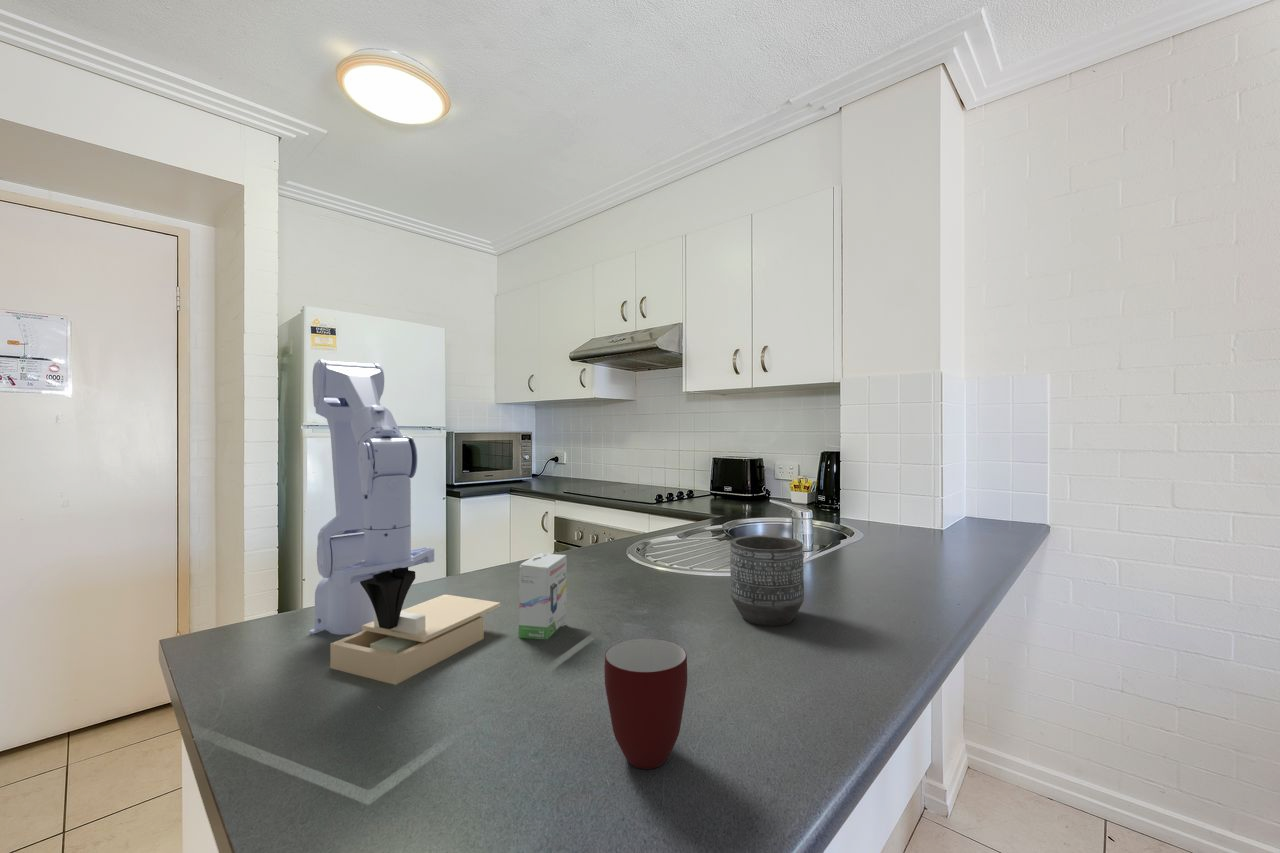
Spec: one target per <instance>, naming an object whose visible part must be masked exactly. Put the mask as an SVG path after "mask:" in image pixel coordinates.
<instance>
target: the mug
mask: <svg viewBox="0 0 1280 853" xmlns="http://www.w3.org/2000/svg"><path fill="white" fill-rule="evenodd" d="M687 661H688V656H687V651H686V650H685V648H683V647H682V646H680V645H679V644H677V643H674V642H672V641H668V640H664V639H659V638H635V639H633V638H632V639H627V640H624V641H620V642H618V643H615V644H613V645H612V646H610V647H609V648H608V649H607V650H606V651H605V654H604V686H605V687H604V688H605V692H606V697H607V698H606V699H607V704H608V710H609V714H610V721H611V726H612V731H613V735H614V738H615V740H616V743H617V744H618V747H619V748H620V749H621V751H622V753H623V756H624V757H625V759H626V761H627V763H629V765H631V766H632V767H635V768H637V769H644V770H650V769H655V768H658V767H659V768H660V767H661V766H662V765H664V764H665V763H666V761H667V760H668V758H669V756H670V754H671V753H672V750H673V748H674V747H675V745H676V742H677V740H678V737H679V734H680V731H681V725H682V720H683V712H684V706H685V700H686V696H687V695H686V694H687V687H688V662H687Z"/></svg>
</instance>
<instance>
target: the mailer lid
mask: <svg viewBox="0 0 1280 853" xmlns="http://www.w3.org/2000/svg"><path fill="white" fill-rule="evenodd" d="M500 607H501V602H500V601H499V602H497V601H491V600H485V599H479V598H478V599H477V598H472V597H464V596H460V595H459V596H457V595H451V594H445V593H444V594H442V595H439V596H436V597H433V598H432V599H428V600H426V601H423V602H420V603H417V604H415V605H413V606H410V607H407V608H404V609H401V613H400V617H399V621H398V625H397V627H394V628H392V629H385V628H380V627H379V624H378V620H377V616H376V613H375V612H374V621H372V622H370V623H367V624H365V625H362V630H366V631H370V632H375V633H380V634H385V635H390V636H395V637H400V638H404V639H409V640H414V641H419V642H425V641H427V640H430V639H432V638H434V637H436V636H438V635H440V634H442V633H445V632H447V631H449V630H451V629H453V628H455V627H457V626H460V625H462V624H464V623H466V622H468V621H470V620H473V619H475V618H477V617H479V616H480V617H482V616H483V615H485V614H487V613H490V612H492V611H494V610H496V609H498V608H500Z"/></svg>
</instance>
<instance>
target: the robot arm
mask: <svg viewBox="0 0 1280 853" xmlns="http://www.w3.org/2000/svg"><path fill="white" fill-rule="evenodd" d="M384 390H385V372H384V369H383V368H382V366H381V365H380V364H379V363H377V362H375V363H365V362H363V363H362V362H347V361H335V360H324V359H320V358H319V359H318V360H317V361H315V363H314V365H313V370H312V394H313V395H312V396H313V398H312V399H313V407H314V408H315V413H316V414H317V415H319V416H321V417H322V418H325V419H326V420H327V425H328V429H329V433H330V445H331V458H332V461H331V462H332V472H333V473H332V474H333V489H334V502H335V516H334V517H333V518H331V519H330V520H329V521H328V522H326V523H325V524H324V525H323V526H322V527H320V530H319V532H318V534H317V547H316V563H317V565H316V566H317V571H318V574H319V576H321V577H322V579H320V581H319V582H318V584H317V585H316V588H315V591H314V628H312V629H310V630H309V634H311V635H314V634H316V633H320V632H323V631H327V632H329V633H330V634H332V635H333V634H334V635H341V636H342V635H344V636H345V635H354V634H356V633H359V632H361V631H364V630H362V625H365V624H367V623H370V622H372V621H374V612H375V613H376V616H377V620H378V624H379V627H380V628H385V629H392V628H394V627H397V625H398V621H399V617H400V613H401V611H402V610H403V606H404V603H405V600H406V596H407V595H408V592H409V590H410V588H411V586H412V585H413V583H414V581H415V580H416V571H414V570H410V569H409V568H412V567H415V566H419V565H422V564H425V563H426V564H431V563H433V562H435V548H433V547H432V548H431V547H420V548H416V549H412V540H411V539H412V531H411V529H412V522H411V520H412V518H411V517H412V516H411V515H412V512H411V510H412V508H411V507H412V506H411V503H412V502H411V499H412V498H411V495H412V494H411V493H412V492H411V490H412V489H411V488H412V485H411V484H412V483H411V479H413V478H414V477H415V475H416V472H417V469H418V449H417V445H416V442H415V439H414V438H413V437H412V436H410V435H407V434H402V433H401V431H400V429H399V428H400V427H399V426H398V424H397V422H396V420H395V418H394V415H393V413H392V412H391V411H390V410H389V409H388V408H387V407H386V406H382V405H381V401H380V400H381V397H382V396H383V394H384Z"/></svg>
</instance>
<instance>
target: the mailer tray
mask: <svg viewBox="0 0 1280 853" xmlns="http://www.w3.org/2000/svg"><path fill="white" fill-rule="evenodd" d="M484 627H485V626H484V616H479V617H477V618H475V619H473V620H470V621H468V622H466V623H464V624H462V625H460V626H457V627H455V628H453V629H451V630H449V631H447V632H445V633H442V634H440V635H438V636H436V637H434V638H432V639H430V640H427V641H425V642H419V641H418V644H417V645H415V646H413V647H411V648H409V649H406V650H404V651H402V652H400V653H398V654H394V653H389V652H385V651H380V650H376V649H371V648H370V644H371V643H374V642H376V641H379V640H381V639H383V638H386V637H388V636H390V635H385V634H380V633H375V632H370V631H366V630H364V631H361V632H359V633H354V634H350V635H349V636H346V637H344V638H341V639H338V640H336V641H334V642H331V643H330V644H329V645H330V650H329V651H330V655H329V656H330V658H329V659H330V666H329V667H330V669H333V670H336V671H341V672H343V673H349V674H352V675H355V676H360V677H364V678H368V679H371V680H375V681H379V682H383V683H387V684H391V685H395V686H397V685H399V684H400V683H402V682H404V681H407V680H408V679H410V678H411V677H412V678H413V677H414V676H417V674H419V673H422V672H423V671H425V670H426V669H429V668H431V667H433V666H435V665H436V664H439V663H440V662H442V661H444V660H446V659H447V658H450V657H451V656H453V655H456V654H457V653H459V652H461V651H463V650H465V649H466V648H468V647H471V646H472V645H474V644H476V643H478V642H480V641H482V640H484V637H485V636H484V635H485V634H484Z"/></svg>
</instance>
